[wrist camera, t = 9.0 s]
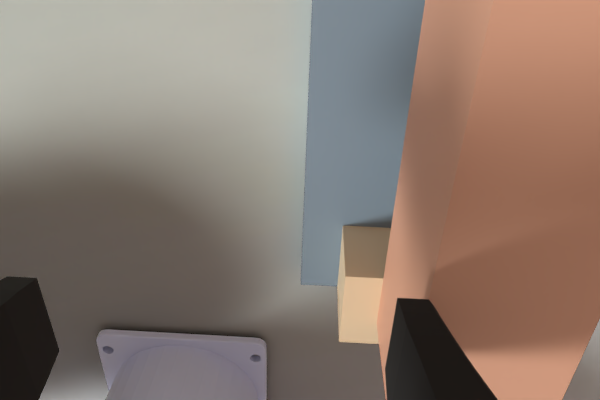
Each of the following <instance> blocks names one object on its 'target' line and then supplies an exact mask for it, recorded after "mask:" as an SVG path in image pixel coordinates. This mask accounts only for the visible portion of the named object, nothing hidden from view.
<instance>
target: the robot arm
mask: <svg viewBox="0 0 600 400" xmlns="http://www.w3.org/2000/svg"><path fill="white" fill-rule="evenodd" d="M96 343H97V347H98V351H99V355H100V359H101V363H102V367H103V370H104V374H105V378H106V382H107V386H108V390H109V393H108V395H107V397H106V399H105V400H267V345H266V343H265V341H264V340H262V339H260V338H254V337H236V336H218V335H200V334H182V333H165V332H147V331H129V330H111V329H105V330H102V331H100V332H99V334H98V336H97V338H96ZM58 352H59V348H58V345H57V342H56V338H55V335H54V332H53V329H52V326H51V322H50V319H49V316H48V313H47V310H46V306H45V303H44V300H43V297H42V294H41V290H40V287H39V284H38V281H37V278H22V277H6V278H4V279H2V280H0V400H39V398H40V395H41V393H42V391H43V388H44V386H45V384H46V382H47V379H48V377H49V375H50V372H51V370H52V367H53V365H54V362H55V360H56V357H57V355H58ZM255 355H259V356H255ZM385 377H386V392H387V400H498V399H497V398H496V397H495V395H494V394H493V392H492V391H491V390H490V388H489V387H488V386H487V384H486V383H485V381H484V380H483V379H482V377H481V376H480V375H479V373H478V372H477V371H476V369H475V368H474V366H473V365H472V363H471V362H470V361H469V359H468V358H467V356H466V355H465V353H464V352H463V350H462V349H461V347H460V346H459V344H458V343H457V341H456V340H455V338H454V337H453V335H452V334H451V332H450V331H449V329H448V328H447V326H446V324H445V323H444V321H443V320H442V318H441V316H440V315H439V313H438V312H437V310H436V308H435V307H434V305H433V304H432V303H431V302H430V300H429V299H411V298H397V303H396V309H395V314H394V320H393V326H392V332H391V337H390V343H389V349H388V355H387V360H386V366H385Z"/></svg>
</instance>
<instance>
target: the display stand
mask: <svg viewBox="0 0 600 400" xmlns="http://www.w3.org/2000/svg"><path fill="white" fill-rule="evenodd" d="M424 5H425V0H312V19H311V44H310V68H309V93H308V118H307V142H306V167H305V192H304V216H303V241H302V266H301V284H302V285H321V286H337V293H338V328H339V342H351V343H369V344H379V340H378V331H377V318H378V311H379V304H380V298H381V291H382V284H383V278H384V271H385V264H386V258H387V251H388V245H389V238H390V231H391V225H392V218H393V211H394V205H395V198H396V191H397V185H398V178H399V171H400V165H401V158H402V151H403V145H404V138H405V131H406V125H407V118H408V111H409V105H410V98H411V92H412V85H413V78H414V72H415V65H416V58H417V52H418V45H419V38H420V32H421V25H422V18H423V12H424Z"/></svg>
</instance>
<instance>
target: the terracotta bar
mask: <svg viewBox="0 0 600 400" xmlns="http://www.w3.org/2000/svg"><path fill="white" fill-rule="evenodd" d="M397 298H411V299H429V300H430V302H431V303H432V304H433V305H434V307H435V308H436V310H437V312H438V313H439V315H440V316H441V318H442V320H443V321H444V323H445V324H446V326H447V328H448V329H449V331H450V332H451V334H452V335H453V337H454V338H455V340H456V341H457V343H458V344H459V346H460V347H461V349H462V350H463V352H464V353H465V355H466V356H467V358H468V359H469V361H470V362H471V363H472V365H473V366H474V368H475V369H476V371H477V372H478V373H479V375H480V376H481V377H482V379H483V380H484V381H485V383H486V384H487V386H488V387H489V388H490V390H491V391H492V392H493V394H494V395H495V397H496V398H497V399H498V400H562V399H563V397H564V394H565V392H566V390H567V388H568V386H569V384H570V381H571V379H572V377H573V375H574V373H575V371H576V369H577V366H578V364H579V362H580V360H581V358H582V356H583V353H584V351H585V349H586V347H587V345H588V343H589V340H590V338H591V336H592V334H593V332H594V330H595V328H596V325H597V323H598V321H599V319H600V0H425V5H424V12H423V18H422V25H421V32H420V38H419V45H418V52H417V58H416V65H415V72H414V78H413V85H412V92H411V98H410V105H409V111H408V118H407V125H406V131H405V138H404V145H403V151H402V158H401V165H400V171H399V178H398V185H397V191H396V198H395V205H394V211H393V218H392V225H391V231H390V238H389V245H388V251H387V258H386V264H385V271H384V278H383V284H382V291H381V298H380V304H379V311H378V318H377V331H378V340H379V348H380V356H381V365H382V373H383V381H384V390H385V398H386V400H387V392H386V377H385V366H386V360H387V355H388V349H389V343H390V337H391V332H392V326H393V320H394V314H395V309H396V303H397Z"/></svg>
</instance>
